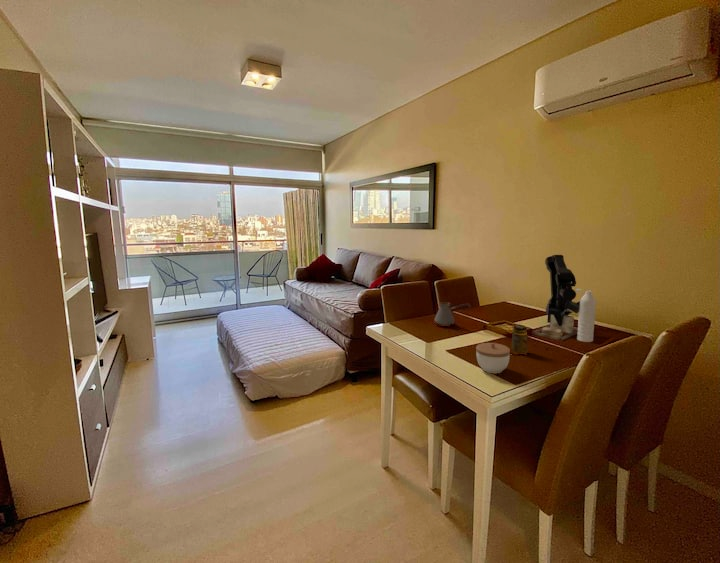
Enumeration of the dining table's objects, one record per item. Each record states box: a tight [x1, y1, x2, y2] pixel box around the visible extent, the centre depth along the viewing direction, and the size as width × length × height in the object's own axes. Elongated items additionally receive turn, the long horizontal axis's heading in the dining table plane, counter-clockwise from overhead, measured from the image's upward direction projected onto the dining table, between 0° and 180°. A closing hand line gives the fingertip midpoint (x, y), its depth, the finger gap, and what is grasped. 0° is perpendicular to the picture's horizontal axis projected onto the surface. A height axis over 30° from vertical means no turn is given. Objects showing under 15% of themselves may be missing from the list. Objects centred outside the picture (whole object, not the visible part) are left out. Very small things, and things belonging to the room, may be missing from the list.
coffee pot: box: [433, 301, 470, 325], centre depth 193 cm, size 21×12×15 cm, turn 44°
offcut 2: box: [541, 332, 564, 338], centre depth 171 cm, size 8×5×2 cm, turn 44°
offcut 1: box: [541, 326, 563, 335], centre depth 171 cm, size 8×5×2 cm, turn 49°
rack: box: [531, 324, 578, 342], centre depth 175 cm, size 14×23×2 cm, turn 126°
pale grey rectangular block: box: [549, 315, 575, 334], centre depth 177 cm, size 10×3×9 cm, turn 36°
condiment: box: [511, 324, 528, 353], centre depth 152 cm, size 7×8×12 cm
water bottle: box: [575, 288, 597, 343], centre depth 162 cm, size 9×6×25 cm
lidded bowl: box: [475, 342, 511, 375], centre depth 135 cm, size 13×13×11 cm
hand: (561, 325), depth 177 cm, fingers closed on pale grey rectangular block, 3 cm apart
